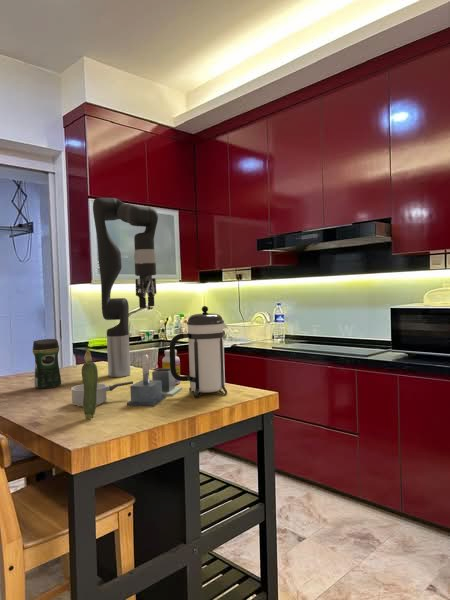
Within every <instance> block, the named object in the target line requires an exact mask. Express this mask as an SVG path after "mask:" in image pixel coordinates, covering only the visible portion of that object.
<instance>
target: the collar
mask: <svg viewBox="0 0 450 600" xmlns="http://www.w3.org/2000/svg"><path fill="white" fill-rule="evenodd" d="M151 377H152V378H151V379H152V380H160V381H162V392H170V391H172V390H173V389H175V387H176V385H175V378H174V377H173V376H172V374H171V370H170V369H163V368H156V369H155V370H153V371H152V372H151Z"/></svg>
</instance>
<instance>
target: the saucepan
mask: <svg viewBox="0 0 450 600" xmlns="http://www.w3.org/2000/svg"><path fill="white" fill-rule="evenodd" d="M127 385H128V386H129V385H134V382H133V381H125V382H120V383H116V384H115V383H114V384H112V385H108V384H106V383H103V382H102V383H101V382H98V383H97V395H96V397H97V399H96V405H97V406H99V405H98V404H100V405H102V404H104V402H106V401H107V399H108V398H107V392H112V391H113V390H115V389H116V388H118V387H122V386H127ZM70 390H71V403H72V405H74V406H76V405H77V406H76V407H78V406H83V399H84V384H83V383H82V384H78V385H73V386H72V387H70ZM101 403H102V404H101Z"/></svg>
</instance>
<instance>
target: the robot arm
mask: <svg viewBox="0 0 450 600" xmlns="http://www.w3.org/2000/svg"><path fill="white" fill-rule="evenodd" d="M92 210H93V211H92V213H93V220H94V227H95V232H96V242H97V253H98V254H97V255H98V258H97V259H98V266H99V267H98V269H99V273H100V275H99V276H100V277H99V278H100V283H101V284H100V285H101V286H100V287H101V291H100V292H101V313H102V317H103V319H104V320H106V321H112V320H113V321H115V320H116V321H117V320H118V321H119V322H118V324H116V325H115V326H112V327H110V328H108V329H106V347H107V349H106V350H107V352H106V353H107V369H108V370H107V371H108V372H107V374H108V377H110V378H121V377H127V376H130V375H131V354H130V352H131V351H130V339H129V338H130V335H129V334H130V330H129V329H130V325H129V324H130V323H129V311H130V310H129V309H130V308H129V301H128V299H126V298H124V297H121V298H120V297H117V298H116V297H115V298H114V297H113V298H111V292H112V288H113V286H114V284H115V281H116V280H117V279H118V277H119V274H120V273H121V270H122V264H123V263H122V253H121V250H120V248H119V246H118V244H117V243H115V241H114V240H113V238H112V237H111V235H110V234H109V232H108V229H107V225H106V221H108V222H109V221H117V220H121V221H122V222H124V223H127V224H129V225H130V226H133V227H142V228H143V227H145V229H144V231H143V232H139V233H136V234H135V235H134V237H133V242H134V244H133V245H134V257H133V258H134V275H135V276H136V277H139V278H136V279H135V296H136V297H137V298H138V301H139V302H138V303H139V305H138V306H139V308H140V309H146V308H147V306H148V307H154V306H155V295H157V279H156V278H154V277H153V276H156V275H157V261H156V259H157V258H156V253H155V234H156V229H157V225H158V220H159V215H158V212H157V209H155V208H154V207H151V206H140V205H134V204H131V203H126V202H123V201H121V200H120V199H118V198H116V197H96V198H95V199H94V200H93V202H92ZM146 295H147V296H146ZM146 297H147V299H146ZM146 300H147V301H146Z"/></svg>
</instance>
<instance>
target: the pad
mask: <svg viewBox="0 0 450 600" xmlns="http://www.w3.org/2000/svg"><path fill="white" fill-rule="evenodd" d="M182 390H183V387H182V386H175V389H173V390H172V391H170V392H162V395H166V397H175V395H176V394H178V393H179V392H180V391H182Z"/></svg>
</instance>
